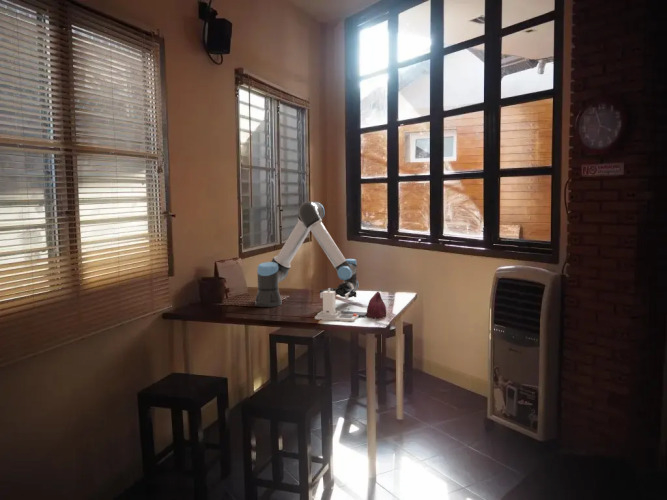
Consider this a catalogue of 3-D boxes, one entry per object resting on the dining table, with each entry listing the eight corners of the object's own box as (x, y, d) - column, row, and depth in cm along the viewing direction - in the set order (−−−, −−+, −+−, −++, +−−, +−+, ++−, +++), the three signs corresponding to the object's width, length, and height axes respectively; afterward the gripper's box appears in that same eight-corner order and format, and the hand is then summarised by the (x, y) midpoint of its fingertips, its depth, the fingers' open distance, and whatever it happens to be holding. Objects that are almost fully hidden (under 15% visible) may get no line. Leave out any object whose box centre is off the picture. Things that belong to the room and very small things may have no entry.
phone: (364, 317, 258) (364, 315, 258) (338, 315, 262) (338, 313, 262) (368, 314, 264) (368, 312, 264) (342, 312, 269) (342, 310, 268)
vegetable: (387, 324, 257) (392, 297, 252) (366, 322, 256) (371, 295, 251) (384, 314, 267) (389, 288, 262) (364, 312, 266) (369, 286, 261)
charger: (322, 316, 256) (322, 288, 254) (326, 313, 261) (325, 287, 259) (332, 316, 254) (332, 289, 253) (335, 314, 259) (335, 287, 258)
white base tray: (314, 319, 255) (314, 313, 254) (321, 314, 264) (321, 309, 264) (353, 321, 249) (353, 316, 248) (358, 317, 258) (358, 312, 258)
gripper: (367, 297, 280) (356, 304, 260) (324, 294, 288) (310, 302, 268) (367, 283, 279) (356, 290, 259) (324, 281, 287) (310, 287, 267)
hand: (333, 296), depth 263 cm, fingers open, 13 cm apart
